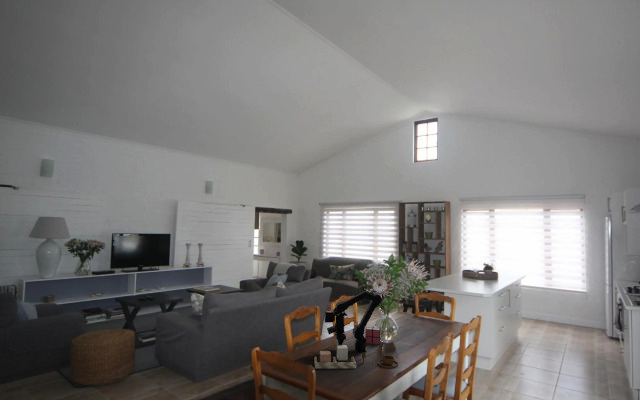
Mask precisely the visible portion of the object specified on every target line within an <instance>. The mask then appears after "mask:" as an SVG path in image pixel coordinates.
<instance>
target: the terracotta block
mask: <svg viewBox="0 0 640 400" xmlns="http://www.w3.org/2000/svg"><path fill="white" fill-rule="evenodd" d="M319 363H332V353H331V351H330V350H320V351H319Z"/></svg>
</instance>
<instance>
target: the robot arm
mask: <svg viewBox="0 0 640 400" xmlns="http://www.w3.org/2000/svg"><path fill="white" fill-rule="evenodd" d="M364 299H367V300H369V304H368V306H367V308H366V310H365V311H364V314H363V315H362V317H361V319H360V321H359V323H358V324H355V325H354V328H353V329H352V335H353V337H354V339H355V342H354V350H355V352H356V353H358V352H359V353H366V352H367V350H366V349H367V348H366V346H367V344H366V338H365V335H364V334H365V329H366V326H368V323H369V321H370V320H371V317H372V315H373V314H374V311H375V310H376V308H377V307H378V306H379V305H380V304H382V301H383V299H382V296H381V295H380V294H379V293H377V292H374V293H372V292H368V291H366V290H363V291H362V292H360V293H358V294H356V295H354V296H351V297H350V298H348V299H346V300H341V301H339V302H337V303H335V305H334V306H335V307H334V308H333V309H332V311H325V312H324V317H323V319H324V320H323V321H324V323H326V324H327V323H334V325H332V326H330V327H327V328H326V330H327V334H328V335H332V334H334V336H335V340H336V341H337V340H338V344H339V345H344V344H343V343H344V341H345V340H347V336H346V334H345V327H346V326H345V317H348V314H347V313H346V311H347V310H348V309H349V308H350V307H352V306H353V305H355V304H357V303H359V302H360V301H363V300H364Z"/></svg>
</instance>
